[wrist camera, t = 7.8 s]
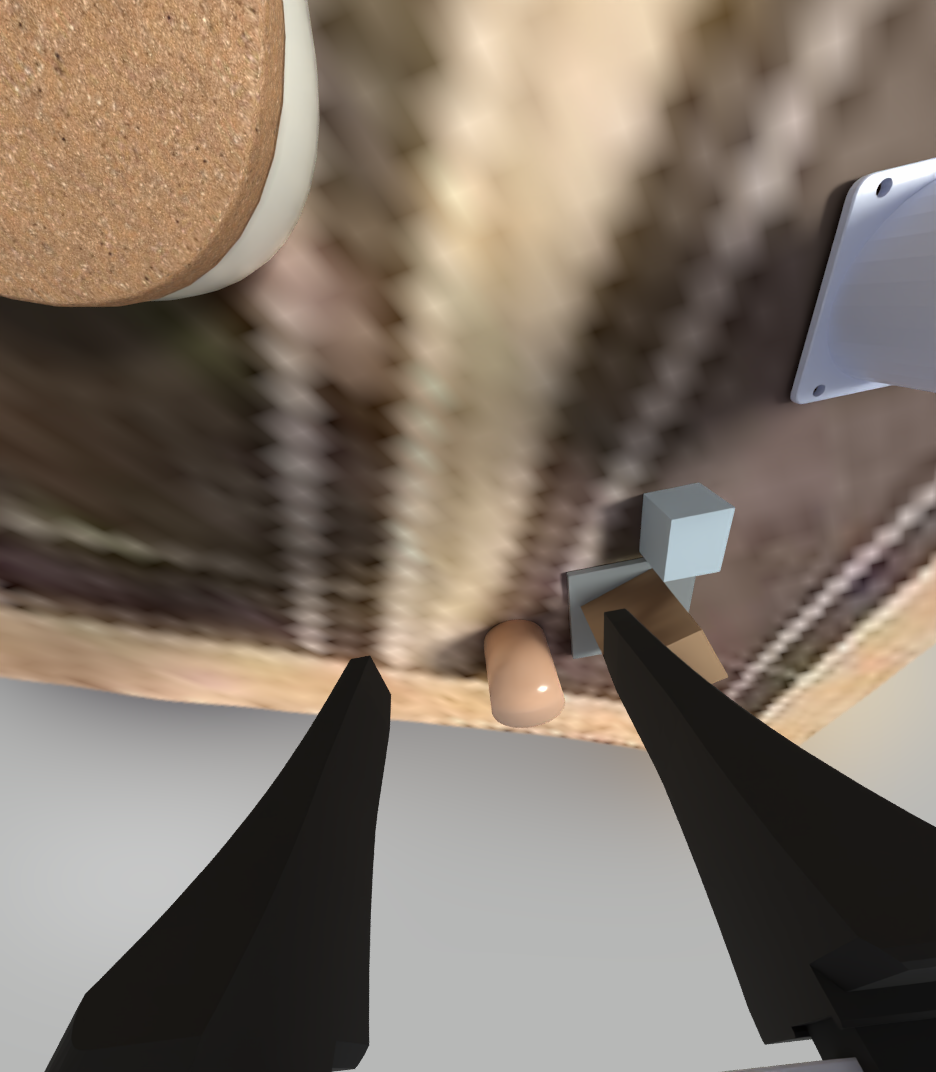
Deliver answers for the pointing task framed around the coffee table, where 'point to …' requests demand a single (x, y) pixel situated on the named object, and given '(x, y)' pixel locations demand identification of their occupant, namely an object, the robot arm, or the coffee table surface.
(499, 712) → the tan rounded cylinder
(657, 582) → the walnut block
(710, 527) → the blue plastic box
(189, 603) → the coffee table surface
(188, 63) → the lidded jar
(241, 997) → the robot arm
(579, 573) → the slate coaster
